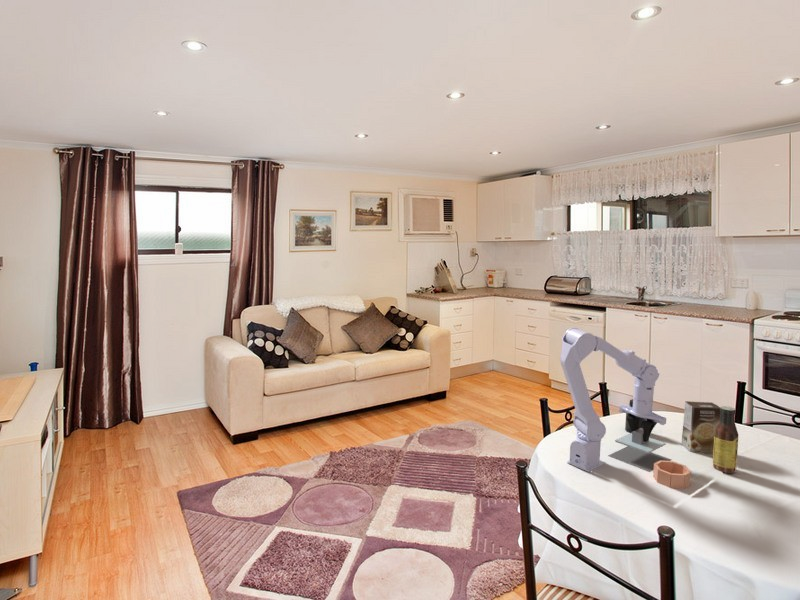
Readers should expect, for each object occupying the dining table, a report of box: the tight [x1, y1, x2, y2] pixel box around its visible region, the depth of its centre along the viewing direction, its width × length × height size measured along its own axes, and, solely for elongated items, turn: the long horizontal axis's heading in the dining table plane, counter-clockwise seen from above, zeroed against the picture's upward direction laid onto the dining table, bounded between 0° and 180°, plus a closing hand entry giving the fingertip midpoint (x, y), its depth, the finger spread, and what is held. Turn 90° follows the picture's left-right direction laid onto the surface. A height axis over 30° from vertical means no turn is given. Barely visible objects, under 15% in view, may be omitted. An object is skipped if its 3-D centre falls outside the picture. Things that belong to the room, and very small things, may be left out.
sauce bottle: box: [712, 405, 739, 474], centre depth 154 cm, size 6×6×20 cm
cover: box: [614, 428, 667, 453], centre depth 162 cm, size 11×11×4 cm
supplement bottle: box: [624, 398, 646, 434], centre depth 184 cm, size 7×7×12 cm
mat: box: [607, 446, 673, 473], centre depth 163 cm, size 14×14×1 cm
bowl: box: [652, 460, 692, 489], centre depth 148 cm, size 9×9×4 cm
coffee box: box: [680, 400, 721, 455], centre depth 168 cm, size 9×6×16 cm
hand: (640, 439), depth 162 cm, fingers closed on cover, 3 cm apart
